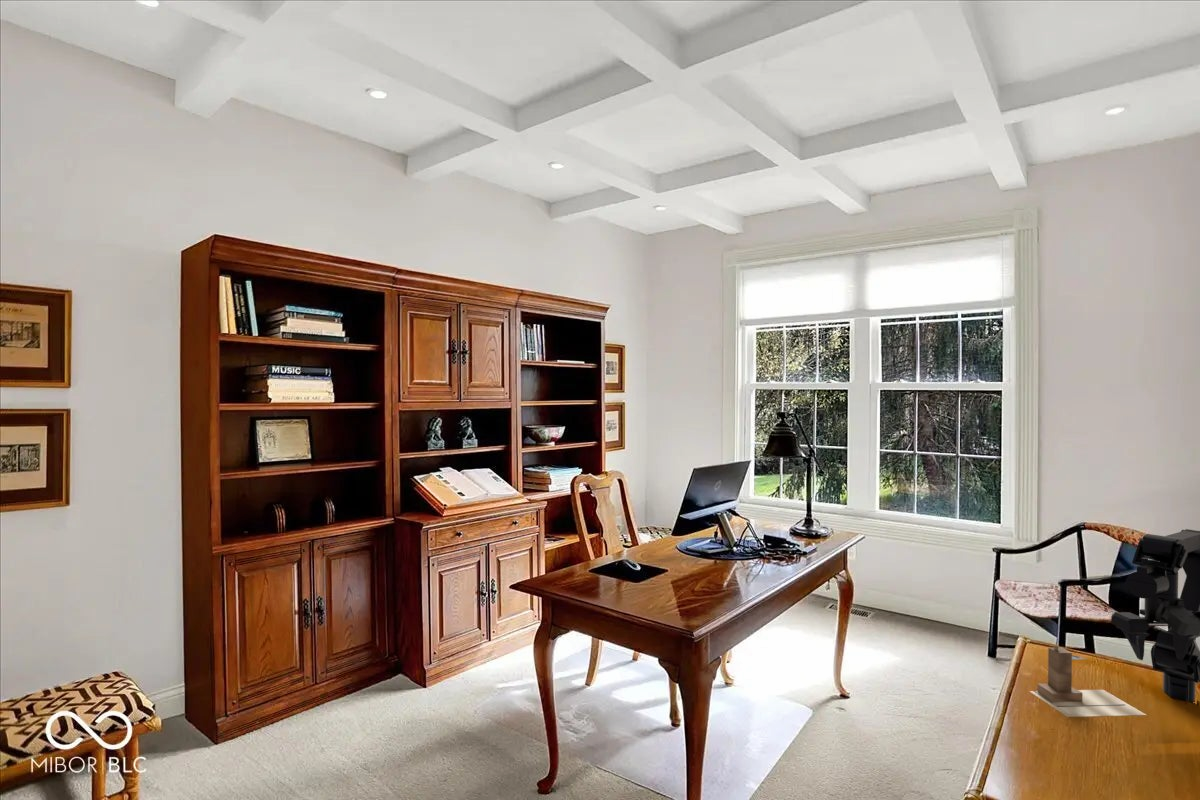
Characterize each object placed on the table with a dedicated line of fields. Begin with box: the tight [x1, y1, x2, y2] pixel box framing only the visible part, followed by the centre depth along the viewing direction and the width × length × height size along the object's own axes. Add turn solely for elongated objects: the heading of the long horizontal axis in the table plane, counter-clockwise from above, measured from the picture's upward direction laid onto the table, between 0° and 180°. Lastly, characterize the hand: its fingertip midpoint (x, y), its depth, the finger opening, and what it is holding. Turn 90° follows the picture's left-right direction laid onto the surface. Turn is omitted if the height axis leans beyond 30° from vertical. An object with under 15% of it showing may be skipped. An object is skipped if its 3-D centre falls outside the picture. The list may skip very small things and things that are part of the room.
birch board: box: [1029, 689, 1147, 718], centre depth 149 cm, size 18×12×2 cm, turn 92°
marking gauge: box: [1036, 644, 1082, 702], centre depth 152 cm, size 7×5×12 cm
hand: (1159, 659), depth 148 cm, fingers open, 9 cm apart
